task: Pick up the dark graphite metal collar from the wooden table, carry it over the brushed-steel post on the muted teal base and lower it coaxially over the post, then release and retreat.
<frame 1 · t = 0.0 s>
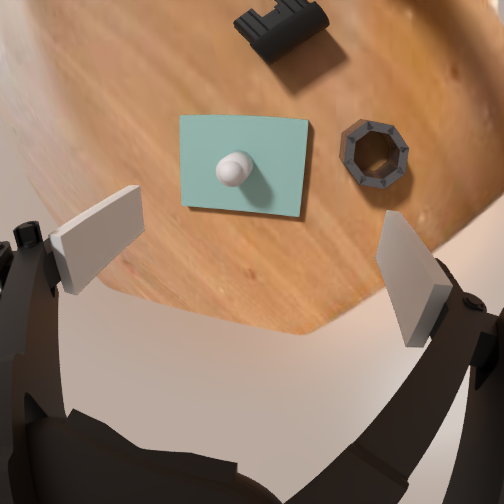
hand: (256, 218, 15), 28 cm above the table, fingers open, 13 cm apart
post stand: (241, 162, 41), on the table
collar: (369, 149, 37), on the table
end cap: (283, 32, 31), on the table
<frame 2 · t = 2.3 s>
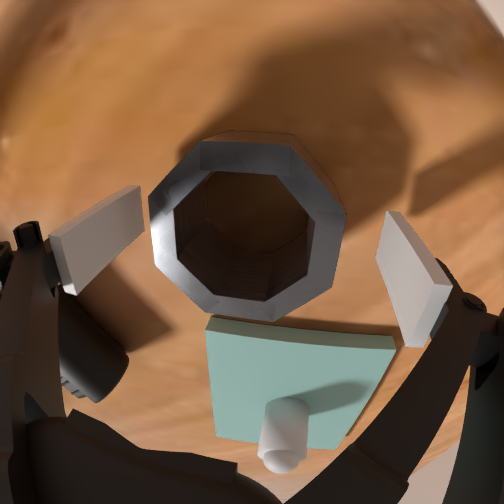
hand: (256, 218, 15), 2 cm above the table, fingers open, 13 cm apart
post stand: (288, 396, 25), on the table
collar: (257, 204, 17), on the table
end cap: (89, 319, 25), on the table
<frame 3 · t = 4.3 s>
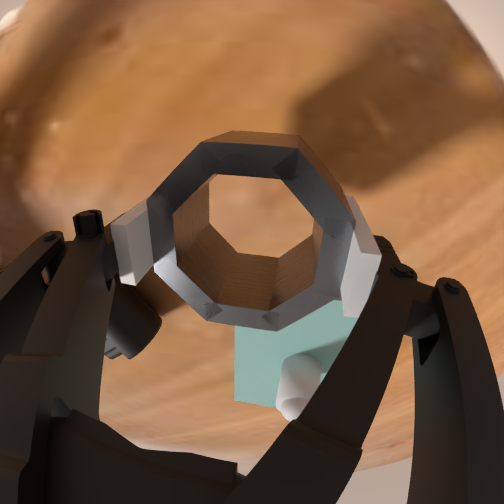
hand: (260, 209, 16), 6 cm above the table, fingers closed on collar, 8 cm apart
post stand: (302, 355, 29), on the table
collar: (261, 208, 16), point 6 cm above the table, touching gripper
end cap: (125, 286, 30), on the table
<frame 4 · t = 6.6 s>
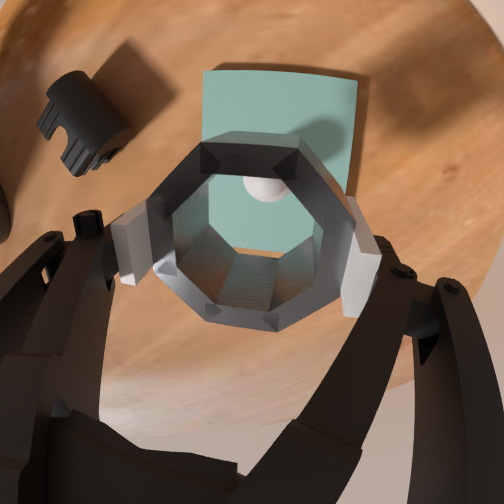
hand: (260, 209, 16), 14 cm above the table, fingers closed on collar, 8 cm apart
post stand: (275, 162, 28), on the table
collar: (260, 208, 16), point 13 cm above the table, touching gripper
end cap: (103, 117, 28), on the table
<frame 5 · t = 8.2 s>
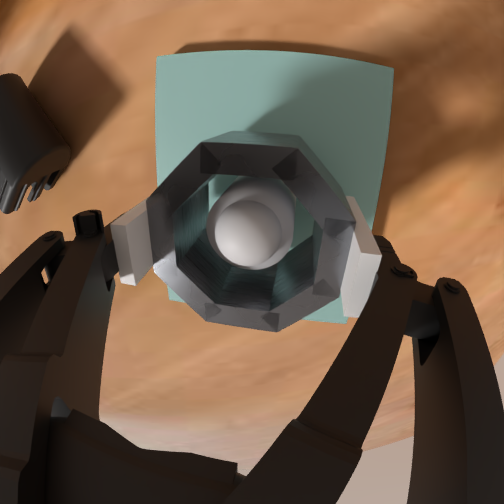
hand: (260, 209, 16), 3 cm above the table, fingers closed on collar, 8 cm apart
post stand: (265, 191, 19), on the table
collar: (261, 208, 16), point 3 cm above the table, touching gripper
end cap: (44, 130, 19), on the table
when the fingers open (2 cm above the table, at t = 9.3 s): collar stays where it is, resting on post stand.
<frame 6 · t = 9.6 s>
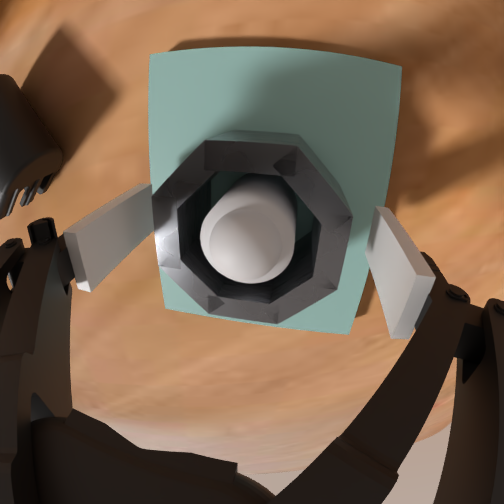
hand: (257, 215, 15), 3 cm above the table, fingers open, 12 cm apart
post stand: (265, 196, 18), on the table
collar: (261, 204, 17), point 1 cm above the table, touching post stand
end cap: (37, 132, 18), on the table
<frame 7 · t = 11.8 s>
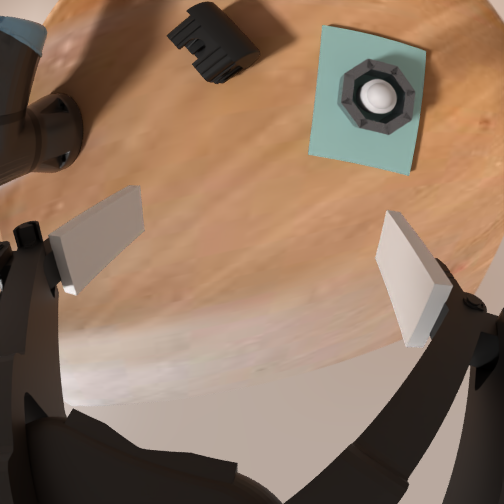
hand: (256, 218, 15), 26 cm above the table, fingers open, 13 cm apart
post stand: (368, 98, 32), on the table
collar: (370, 98, 30), point 1 cm above the table, touching post stand
end cap: (222, 47, 32), on the table
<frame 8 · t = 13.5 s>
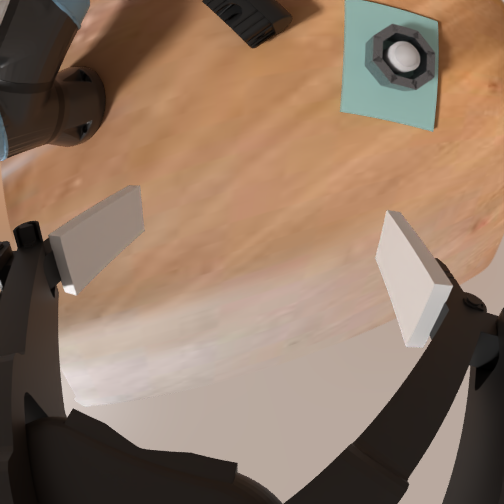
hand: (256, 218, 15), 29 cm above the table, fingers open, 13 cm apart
post stand: (391, 62, 31), on the table
collar: (394, 61, 29), point 1 cm above the table, touching post stand
end cap: (252, 16, 31), on the table
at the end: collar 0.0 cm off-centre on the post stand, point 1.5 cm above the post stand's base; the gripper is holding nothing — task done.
